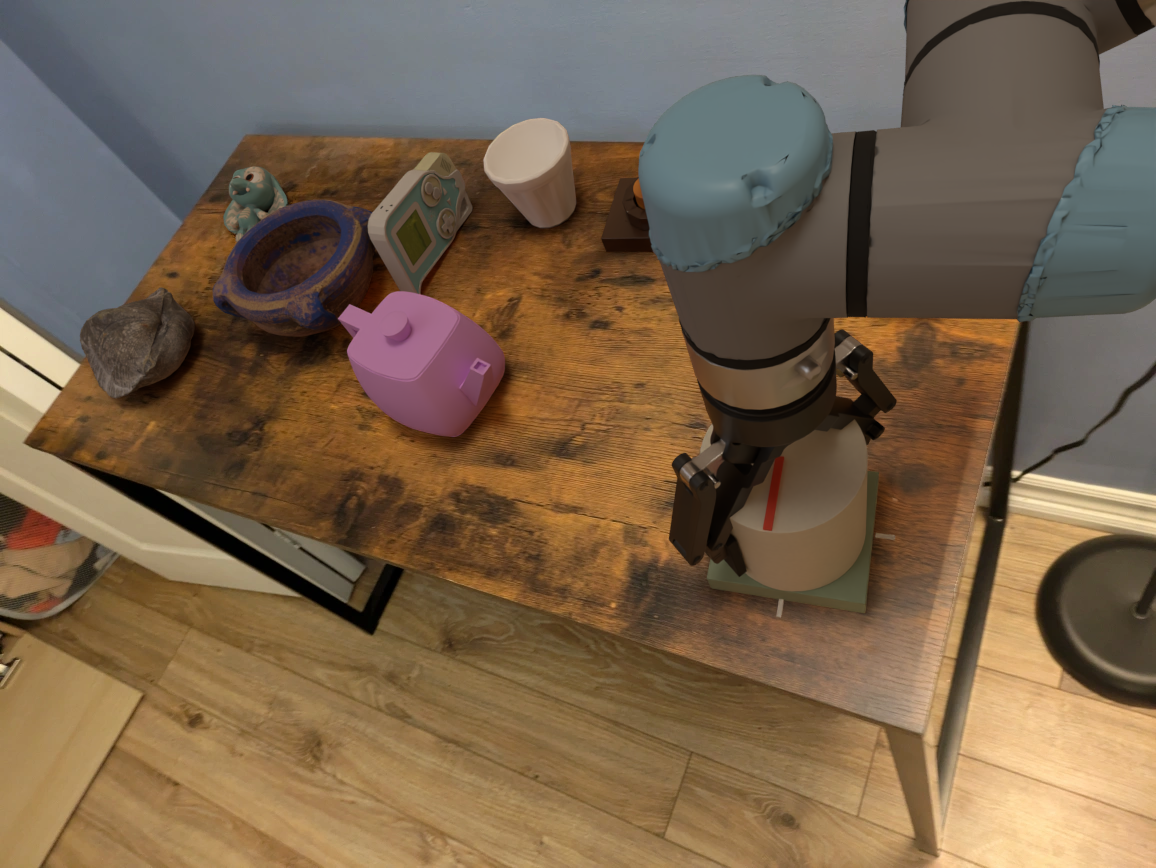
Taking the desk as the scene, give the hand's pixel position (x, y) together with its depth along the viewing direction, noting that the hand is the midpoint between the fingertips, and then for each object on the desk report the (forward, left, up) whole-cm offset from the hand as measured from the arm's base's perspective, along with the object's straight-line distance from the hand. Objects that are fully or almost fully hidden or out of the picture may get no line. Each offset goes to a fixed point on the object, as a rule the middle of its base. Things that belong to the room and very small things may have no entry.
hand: (790, 515), depth 60 cm
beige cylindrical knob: (0, 0, -2) cm, 2 cm away
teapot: (+37, -11, -5) cm, 39 cm away
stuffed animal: (+78, -37, -5) cm, 86 cm away
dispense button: (+19, -35, -1) cm, 40 cm away
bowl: (+59, -23, -5) cm, 63 cm away
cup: (+33, -37, -5) cm, 50 cm away
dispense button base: (+19, -35, -5) cm, 40 cm away
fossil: (+82, -13, -5) cm, 83 cm away
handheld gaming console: (+46, -31, -5) cm, 56 cm away
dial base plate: (0, 0, -5) cm, 5 cm away
